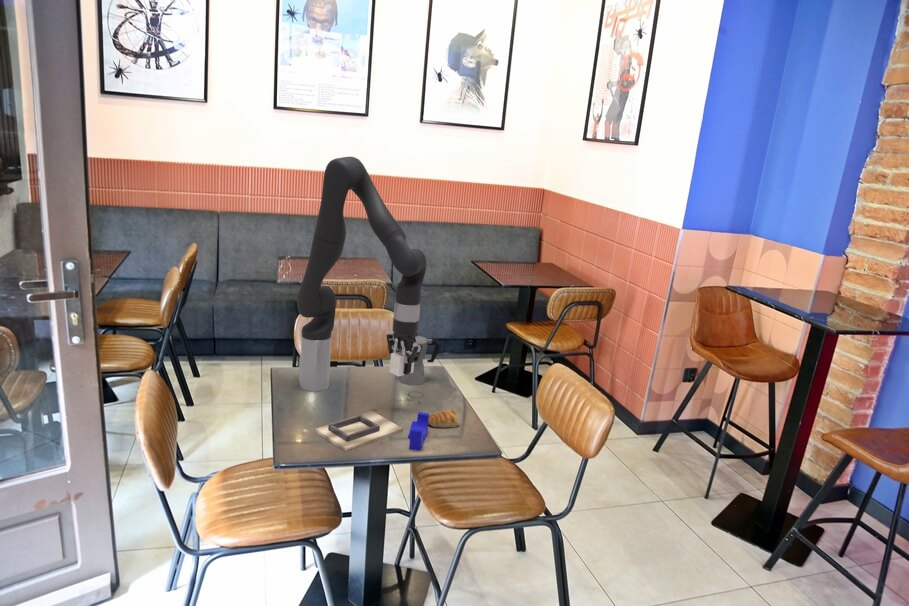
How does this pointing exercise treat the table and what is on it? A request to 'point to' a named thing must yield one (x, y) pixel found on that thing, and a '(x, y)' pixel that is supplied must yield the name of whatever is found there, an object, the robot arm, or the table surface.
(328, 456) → the table surface
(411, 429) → the cable clip
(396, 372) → the keyed plug
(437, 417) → the pastry
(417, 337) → the coffeepot
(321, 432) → the board
